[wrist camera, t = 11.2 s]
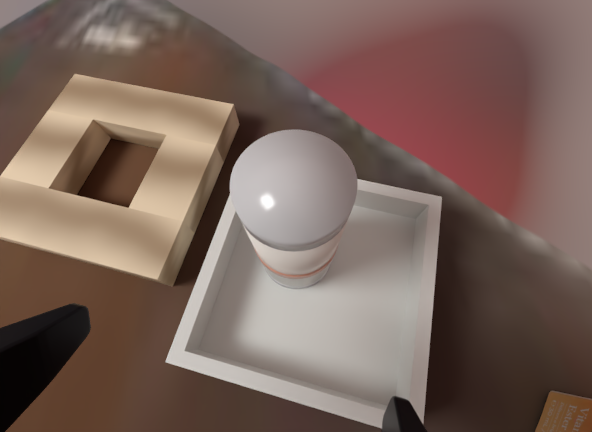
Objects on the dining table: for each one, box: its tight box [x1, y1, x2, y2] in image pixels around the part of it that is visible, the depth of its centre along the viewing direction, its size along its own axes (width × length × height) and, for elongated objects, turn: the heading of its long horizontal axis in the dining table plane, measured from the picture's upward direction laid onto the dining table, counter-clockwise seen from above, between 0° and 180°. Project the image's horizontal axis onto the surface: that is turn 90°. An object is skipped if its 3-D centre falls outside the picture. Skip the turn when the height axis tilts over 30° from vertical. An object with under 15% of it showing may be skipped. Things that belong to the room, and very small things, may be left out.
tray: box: [166, 179, 442, 428], centre depth 20 cm, size 14×14×4 cm
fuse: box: [230, 130, 358, 289], centre depth 17 cm, size 5×5×10 cm
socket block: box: [0, 74, 239, 286], centre depth 24 cm, size 15×15×2 cm
